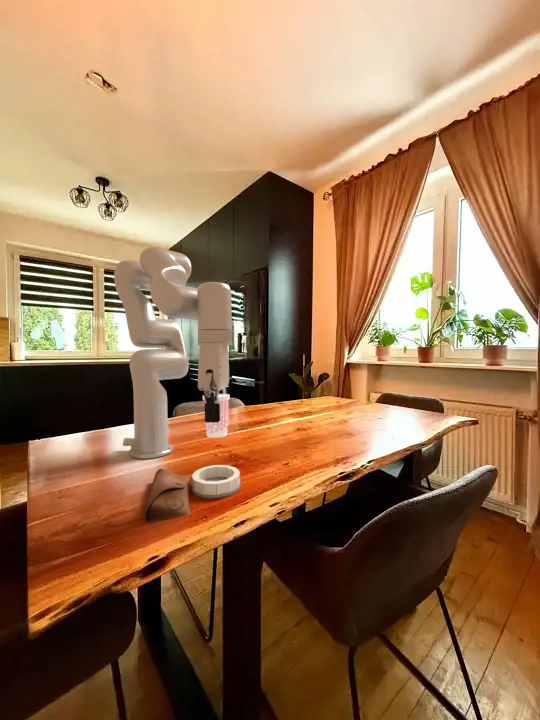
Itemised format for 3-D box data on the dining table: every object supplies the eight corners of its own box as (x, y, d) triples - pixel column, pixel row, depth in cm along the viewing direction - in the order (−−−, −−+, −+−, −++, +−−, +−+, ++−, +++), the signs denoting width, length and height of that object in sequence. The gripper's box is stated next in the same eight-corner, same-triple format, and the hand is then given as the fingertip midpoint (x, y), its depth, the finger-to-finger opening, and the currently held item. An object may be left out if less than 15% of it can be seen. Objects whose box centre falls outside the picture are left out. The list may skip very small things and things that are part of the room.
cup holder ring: (184, 497, 63) (184, 483, 63) (200, 476, 74) (200, 464, 74) (235, 499, 63) (235, 485, 63) (244, 477, 74) (244, 465, 73)
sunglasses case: (193, 515, 57) (174, 487, 55) (160, 539, 55) (139, 511, 54) (191, 477, 74) (176, 455, 73) (165, 495, 72) (149, 473, 71)
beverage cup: (220, 430, 72) (220, 372, 72) (236, 435, 68) (235, 373, 67) (198, 435, 68) (197, 373, 68) (212, 440, 64) (211, 374, 63)
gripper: (209, 341, 76) (210, 411, 77) (185, 337, 59) (186, 428, 60) (238, 340, 76) (239, 411, 76) (222, 336, 59) (224, 428, 59)
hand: (216, 417), depth 68 cm, fingers closed on beverage cup, 6 cm apart
